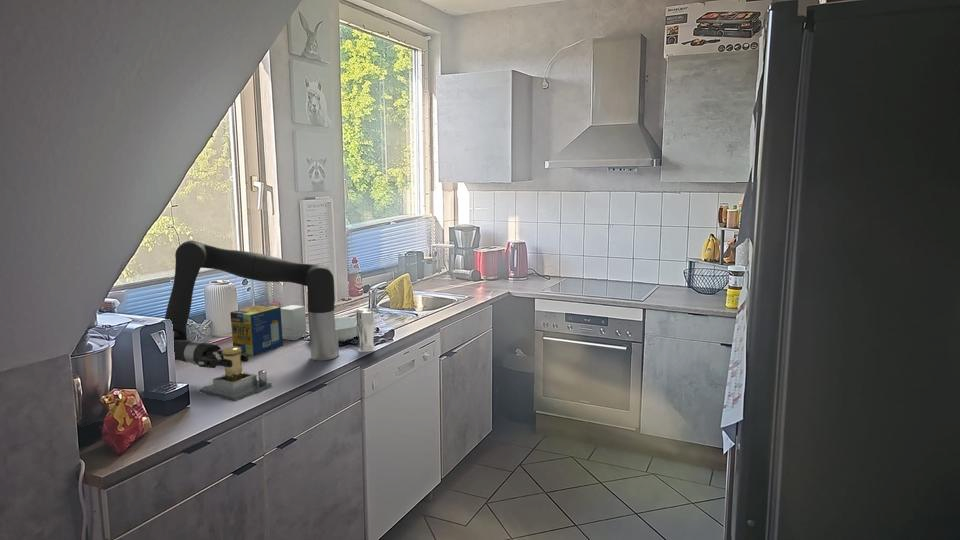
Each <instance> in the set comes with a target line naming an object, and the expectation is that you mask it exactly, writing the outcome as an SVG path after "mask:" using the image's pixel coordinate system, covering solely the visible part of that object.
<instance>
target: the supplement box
mask: <svg viewBox="0 0 960 540" xmlns="http://www.w3.org/2000/svg"><path fill="white" fill-rule="evenodd" d="M305 308H306V307H305V305H297V304H291V305H287V306H283V307H281V322H282V337H283V340H286V341H287V340H288V341H297V340H300V339H299V338H301V337H302V336H303V335H305V334H308V333H307V321H306V309H305ZM301 339H302V338H301Z"/></svg>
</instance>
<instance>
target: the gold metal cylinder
mask: <svg viewBox="0 0 960 540" xmlns="http://www.w3.org/2000/svg"><path fill="white" fill-rule="evenodd" d="M222 349H223V350H222V355H223V358H224V359H228V360H231V361H232V367H230V368H229V367H224V366H223V367H224V375H225V377H226V381H231V382H235V381H237V380H240V379H243V372H244V371H243V364H242V362H243V361H241V352H242V351H241V347H238V346H233V345H232V346H228V347H224V348H222Z"/></svg>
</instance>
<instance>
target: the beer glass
mask: <svg viewBox="0 0 960 540" xmlns="http://www.w3.org/2000/svg"><path fill="white" fill-rule="evenodd" d="M374 311H375V310H374V309H371V308H360V309H357V310H355V318H356V329H357V334H358V336H357V337H358V349H357V350H358V352H360V353H371V352H374V351H375V350H376V348H375V344H374V336H375V335H374V334H375V324H376V320H375V313H374Z"/></svg>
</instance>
